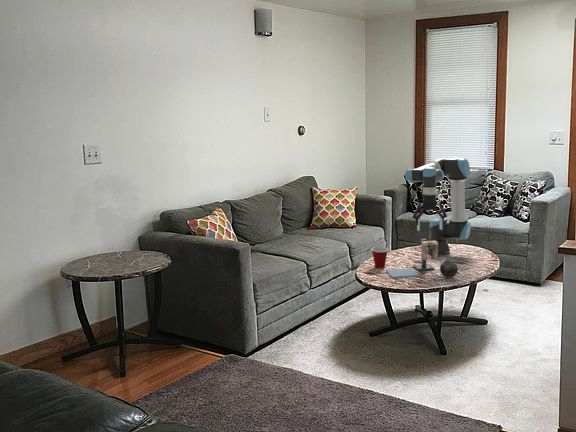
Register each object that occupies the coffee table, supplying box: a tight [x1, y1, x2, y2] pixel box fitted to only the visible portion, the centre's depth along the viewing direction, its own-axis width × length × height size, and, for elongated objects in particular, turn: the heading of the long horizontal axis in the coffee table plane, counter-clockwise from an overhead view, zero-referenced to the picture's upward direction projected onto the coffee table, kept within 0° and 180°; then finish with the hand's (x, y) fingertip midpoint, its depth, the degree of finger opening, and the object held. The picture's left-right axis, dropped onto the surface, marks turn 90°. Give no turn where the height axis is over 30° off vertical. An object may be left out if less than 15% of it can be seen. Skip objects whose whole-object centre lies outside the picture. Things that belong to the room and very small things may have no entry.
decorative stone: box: [439, 260, 458, 278], centre depth 365 cm, size 10×10×10 cm
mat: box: [385, 267, 420, 279], centre depth 377 cm, size 16×16×1 cm
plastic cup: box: [371, 246, 389, 269], centre depth 394 cm, size 11×11×12 cm
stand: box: [413, 238, 435, 272], centre depth 380 cm, size 10×22×18 cm, turn 5°
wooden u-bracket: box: [422, 240, 439, 261], centre depth 373 cm, size 8×5×10 cm, turn 95°
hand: (429, 229), depth 371 cm, fingers open, 13 cm apart
